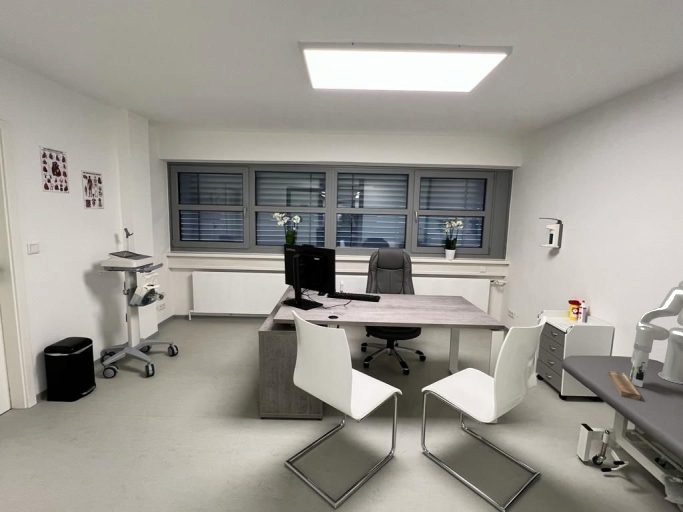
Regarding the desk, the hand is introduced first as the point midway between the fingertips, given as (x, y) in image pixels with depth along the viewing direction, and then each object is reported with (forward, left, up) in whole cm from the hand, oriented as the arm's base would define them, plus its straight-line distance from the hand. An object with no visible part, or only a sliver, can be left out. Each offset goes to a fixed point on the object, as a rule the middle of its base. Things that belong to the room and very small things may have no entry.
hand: (637, 376), depth 193 cm
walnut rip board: (+8, +7, -5) cm, 12 cm away
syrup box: (0, 0, -5) cm, 5 cm away
